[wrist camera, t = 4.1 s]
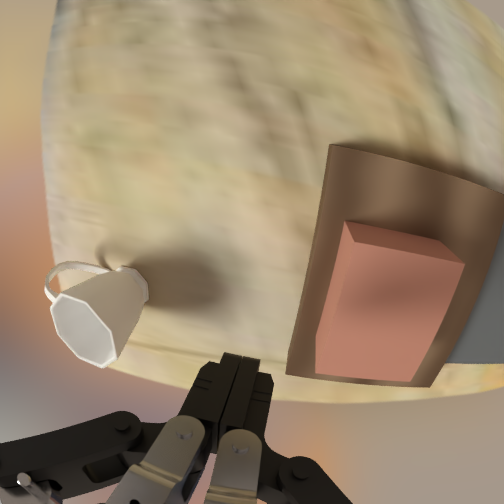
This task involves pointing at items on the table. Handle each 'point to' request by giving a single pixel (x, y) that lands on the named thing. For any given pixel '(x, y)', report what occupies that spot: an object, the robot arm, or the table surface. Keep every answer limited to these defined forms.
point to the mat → (485, 319)
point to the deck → (402, 220)
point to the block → (384, 303)
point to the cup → (98, 310)
